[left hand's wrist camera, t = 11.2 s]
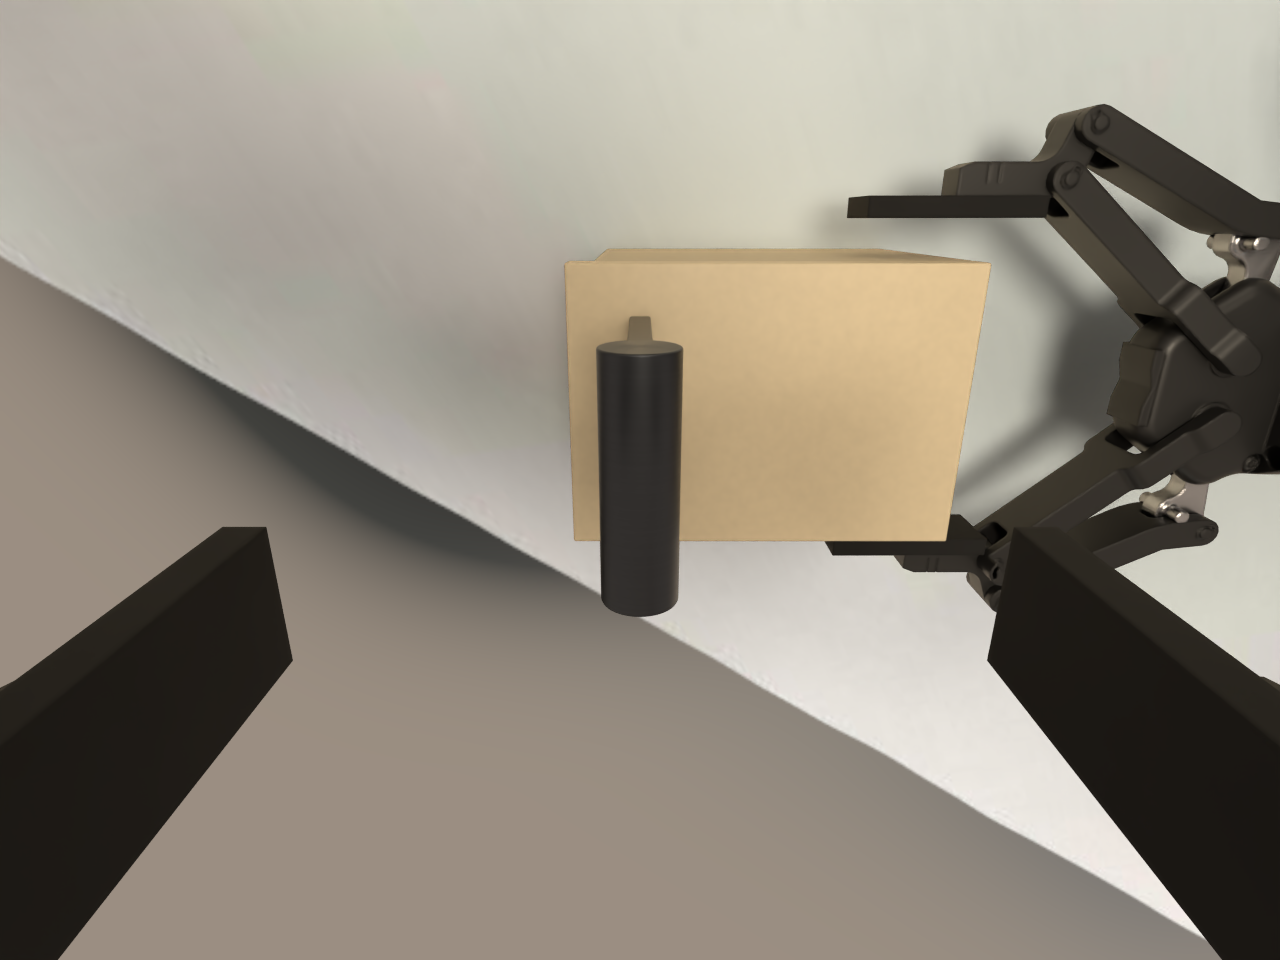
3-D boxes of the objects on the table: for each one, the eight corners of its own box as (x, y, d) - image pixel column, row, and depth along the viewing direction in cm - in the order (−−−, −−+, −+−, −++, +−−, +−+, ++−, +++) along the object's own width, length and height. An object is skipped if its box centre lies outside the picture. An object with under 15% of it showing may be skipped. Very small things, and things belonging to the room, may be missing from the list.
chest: (609, 448, 37) (598, 528, 28) (606, 249, 34) (592, 261, 24) (858, 448, 37) (933, 528, 28) (881, 248, 34) (975, 260, 24)
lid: (576, 528, 28) (548, 667, 19) (567, 260, 24) (527, 284, 16) (934, 528, 28) (1065, 668, 19) (976, 260, 24) (1159, 284, 16)
